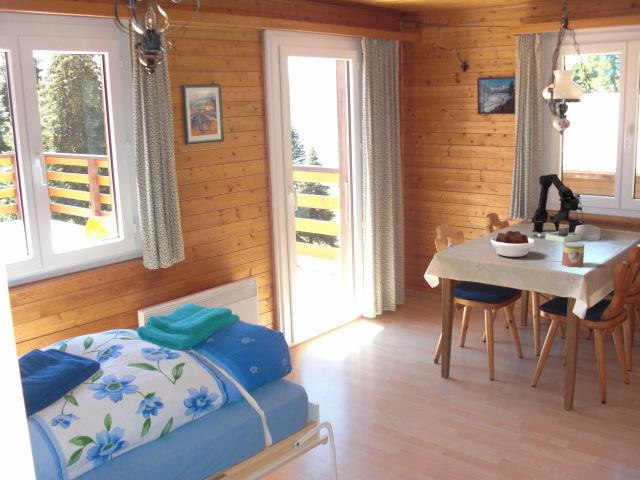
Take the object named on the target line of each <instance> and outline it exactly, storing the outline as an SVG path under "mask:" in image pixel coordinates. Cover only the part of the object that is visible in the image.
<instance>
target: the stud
mask: <svg viewBox="0 0 640 480" xmlns="http://www.w3.org/2000/svg"><path fill="white" fill-rule="evenodd" d="M545 236H546V234H545V233H544V232H536V234H532V235H530V238H531V237H532V238H536V239H545Z"/></svg>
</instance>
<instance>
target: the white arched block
mask: <svg viewBox="0 0 640 480" xmlns="http://www.w3.org/2000/svg"><path fill="white" fill-rule="evenodd" d="M573 233H579V234H581V240H590V241H599V240H601V228H600V227H599V226H596V225H593V224H580V225H575V230H574V232H573Z"/></svg>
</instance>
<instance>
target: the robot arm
mask: <svg viewBox="0 0 640 480" xmlns="http://www.w3.org/2000/svg"><path fill="white" fill-rule="evenodd" d="M538 180H539V181H538V183H539V186H540V192H539V199H538V200H539V201H538V206H537V207H538V208H537V209H536V210H535V212H534V215H533V217H532V218H531V223H533V230H531V231H532V232H535V233H544V232H545V230H544V227H545V226H544V223H545V224H546V223H547V222H548V218H549V221H551V222H552V223H553V225H554V228H555V230H556V232H559V226H560V223H561V222H562V221H564V222H568V232H569V234H570V233H571V232H572V231H573V229H574V228H575V227H576V226H577V225H578V224H580V219H579V218H577V217H572V218H571V216H570V212H576V211H577V210H578V208H579V205H578V202H577V201H576V200H575V195H574V192H573V191H572V189H571V188H570V187H568V186H566V185H565V184H564V183H563V181H561V179H560V178H559V176H558V174H556V173H550V174H543V175H540V176H539V179H538ZM552 184H553V185H554V187H555V188H556V189H557V191H558V192H557V194H558V196H559V199H558V200H559V202H560V203H559V205H560V206H559V210H558V212H557V213H556V214H553V215H550V216H549V212H548V211H547V203H548V197H549V195H548V194H549V189H550V187H552Z"/></svg>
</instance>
